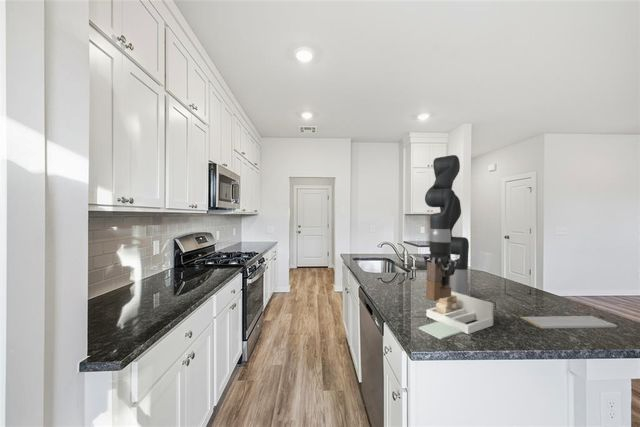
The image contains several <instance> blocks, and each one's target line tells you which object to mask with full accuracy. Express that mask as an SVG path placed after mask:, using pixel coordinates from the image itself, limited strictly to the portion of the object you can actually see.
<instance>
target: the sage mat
mask: <svg viewBox="0 0 640 427" xmlns="http://www.w3.org/2000/svg"><path fill="white" fill-rule="evenodd" d="M418 329H419V330H420V331H423V332H424V333H426V334H429V335H431V336H433V337H435V338H436V339H439V340H444V339H446V338H450V337H453V336H455V335H459V334H463V332H462V331H461V330H458V329H456V328H454V327H451V326H449V325H447V324H444V323H442V322H440V321H435V322H431V323H428V324H425V325H422V326H418Z"/></svg>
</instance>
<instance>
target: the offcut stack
mask: <svg viewBox="0 0 640 427" xmlns="http://www.w3.org/2000/svg"><path fill="white" fill-rule="evenodd" d="M456 303H457V296H455V295H451V296H450V297H446V298H443V299H442V298H440V299H439V300H438V301H437V302H436V304H435V307H436V310H435V312H437V313H440V314H445V313H449V312H452V311H456V310H458V309H456Z"/></svg>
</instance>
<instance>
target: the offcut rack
mask: <svg viewBox="0 0 640 427" xmlns="http://www.w3.org/2000/svg"><path fill="white" fill-rule="evenodd" d="M451 295H455V296H457V303H456V309H458V310H456V311H452V312H449V313H445V314H440V313H437V312H435V310H436V306H435V307H431V308H427V309H425V310H426V318H430V319H432V320H434V321H435V322H438V321H440V322H442V323H444V324H447V325H449V326H451V327H454V328H456V329H458V330H461V331H462V333H465V334H467V335H469V334H473V333H476V332H478V331H481V330H484V329H487V328H489V327H492V326H494V302H489V301H486V300H483V299H481V298H478V297H477V298H476V297H475V296H474V297H473V296H470V295H469V296H467V295H463V294H460V293H457V292H453V291H451ZM472 321H474V322H472ZM470 322H471V323H470ZM467 323H468V324H467Z"/></svg>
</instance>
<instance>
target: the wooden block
mask: <svg viewBox="0 0 640 427" xmlns="http://www.w3.org/2000/svg"><path fill="white" fill-rule="evenodd" d="M451 256H452V254H451V252H450V257H451ZM451 258H452V257H451ZM448 266H450V265H449V263H448ZM444 268H445V267H444ZM442 276H443V275H442V271H441V270H440V267H439V268H438V267H437V265H436V264H435V263H430V262H427V268H426V294H425V295H426V297H425V298H426V299H427V300H430V301H433V302H436V301H439V299H440V298H442V299H443V298H446V297H450V296H451V287H450V276H449V284H448V285H447V286H442Z"/></svg>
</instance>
